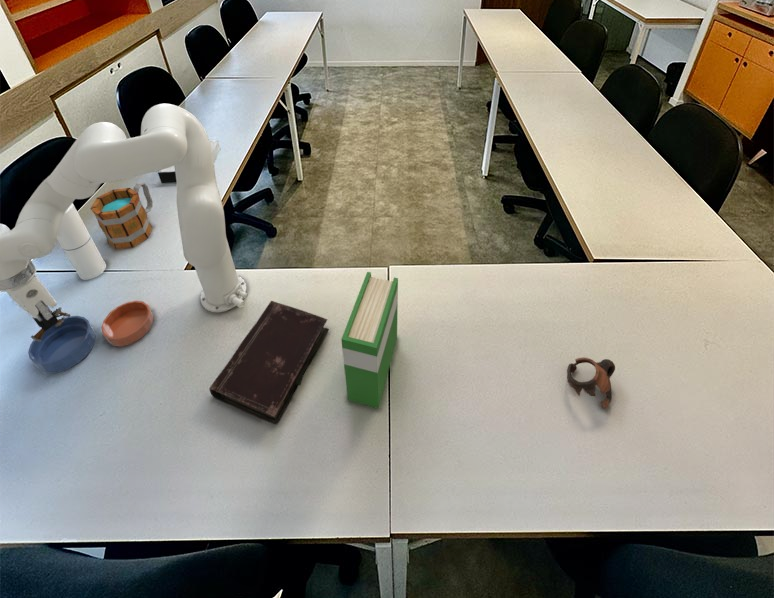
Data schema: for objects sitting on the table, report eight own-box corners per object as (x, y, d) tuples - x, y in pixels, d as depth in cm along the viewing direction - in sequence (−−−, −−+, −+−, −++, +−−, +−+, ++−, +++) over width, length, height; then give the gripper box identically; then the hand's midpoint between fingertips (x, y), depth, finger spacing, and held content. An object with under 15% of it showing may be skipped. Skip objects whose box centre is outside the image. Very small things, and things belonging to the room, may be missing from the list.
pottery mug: (599, 421, 95) (587, 395, 92) (566, 396, 103) (554, 372, 101) (632, 383, 98) (621, 358, 96) (597, 362, 107) (586, 338, 105)
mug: (134, 252, 136) (117, 218, 128) (98, 246, 139) (79, 211, 131) (172, 212, 152) (159, 179, 144) (139, 207, 155) (125, 174, 147)
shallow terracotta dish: (162, 319, 116) (158, 312, 114) (122, 353, 108) (118, 346, 106) (136, 301, 121) (133, 294, 119) (97, 333, 113) (92, 326, 111)
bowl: (107, 340, 111) (100, 329, 109) (54, 383, 102) (45, 373, 99) (79, 318, 117) (72, 308, 114) (26, 357, 107) (17, 347, 105)
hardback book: (369, 332, 112) (367, 271, 99) (396, 339, 111) (397, 278, 98) (347, 400, 98) (341, 339, 85) (378, 408, 97) (376, 348, 83)
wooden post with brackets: (74, 312, 107) (60, 308, 104) (49, 343, 104) (33, 340, 100) (70, 309, 108) (56, 304, 104) (45, 340, 104) (29, 336, 101)
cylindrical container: (87, 283, 126) (50, 221, 113) (74, 273, 130) (37, 211, 116) (110, 267, 131) (78, 206, 118) (98, 258, 135) (65, 197, 121)
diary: (211, 397, 99) (206, 386, 96) (271, 310, 118) (268, 298, 116) (280, 428, 93) (277, 417, 91) (331, 331, 113) (330, 319, 110)
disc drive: (161, 183, 166) (157, 173, 164) (180, 151, 185) (176, 142, 182) (207, 181, 168) (204, 171, 165) (221, 149, 186) (218, 140, 184)
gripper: (49, 275, 93) (82, 326, 103) (14, 249, 99) (49, 299, 109) (10, 300, 87) (49, 351, 97) (-24, 271, 94) (16, 322, 104)
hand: (49, 323), depth 103 cm, fingers closed on wooden post with brackets, 1 cm apart
